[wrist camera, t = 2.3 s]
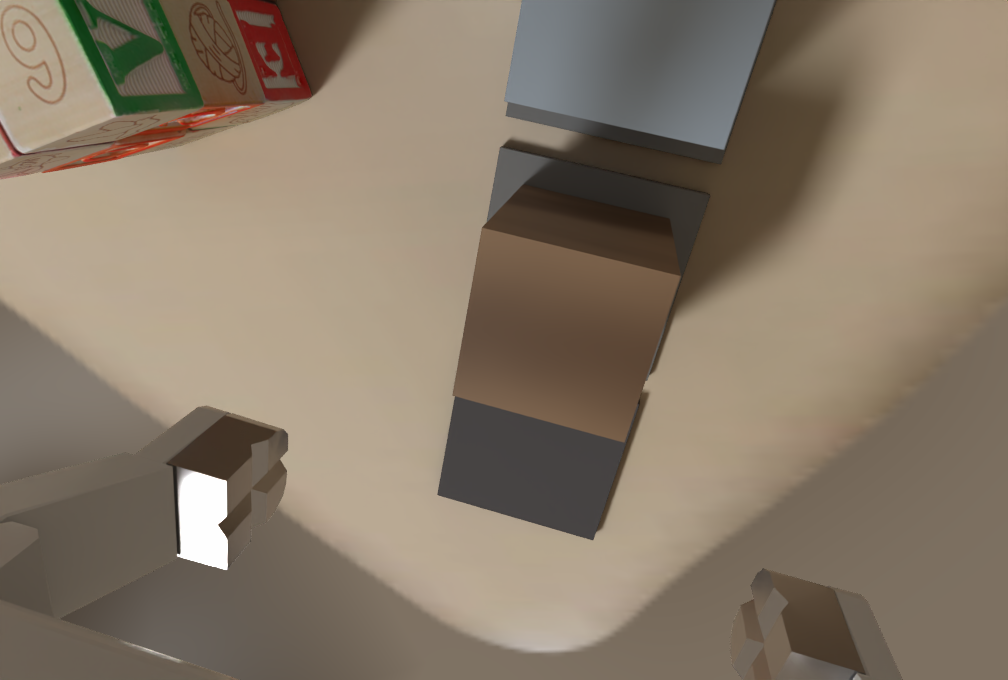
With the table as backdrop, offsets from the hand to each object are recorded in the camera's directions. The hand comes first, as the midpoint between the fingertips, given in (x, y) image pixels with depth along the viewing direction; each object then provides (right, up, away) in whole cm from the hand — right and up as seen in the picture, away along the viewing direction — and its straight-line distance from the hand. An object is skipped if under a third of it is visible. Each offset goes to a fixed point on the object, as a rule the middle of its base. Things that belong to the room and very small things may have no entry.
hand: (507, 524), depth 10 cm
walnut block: (+3, +6, +11) cm, 13 cm away
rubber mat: (+1, -1, +15) cm, 15 cm away
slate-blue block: (+4, +13, +8) cm, 15 cm away
